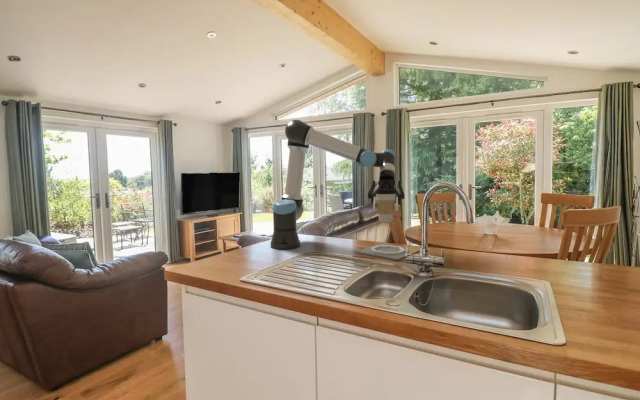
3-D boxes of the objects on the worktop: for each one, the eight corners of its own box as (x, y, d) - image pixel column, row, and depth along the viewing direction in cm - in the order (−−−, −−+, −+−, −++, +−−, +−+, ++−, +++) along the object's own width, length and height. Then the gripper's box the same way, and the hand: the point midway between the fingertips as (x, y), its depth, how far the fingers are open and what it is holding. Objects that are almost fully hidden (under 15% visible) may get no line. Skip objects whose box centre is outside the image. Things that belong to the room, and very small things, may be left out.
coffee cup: (399, 220, 167) (399, 188, 165) (391, 223, 158) (392, 190, 157) (379, 218, 172) (379, 188, 170) (371, 221, 163) (371, 189, 162)
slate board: (355, 252, 165) (355, 249, 164) (379, 244, 181) (379, 241, 181) (397, 260, 150) (397, 257, 150) (419, 250, 167) (419, 248, 167)
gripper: (410, 179, 175) (410, 214, 162) (365, 179, 181) (361, 213, 167) (410, 168, 170) (410, 204, 156) (364, 169, 175) (360, 204, 161)
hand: (385, 209), depth 161 cm, fingers closed on coffee cup, 10 cm apart
